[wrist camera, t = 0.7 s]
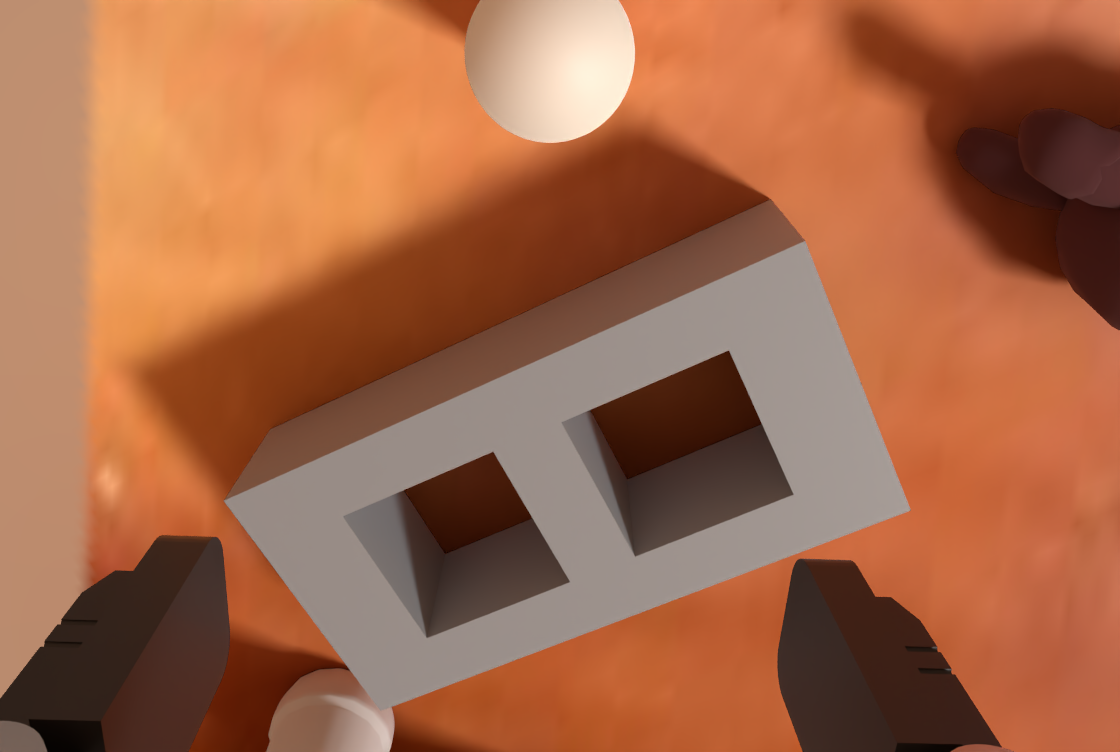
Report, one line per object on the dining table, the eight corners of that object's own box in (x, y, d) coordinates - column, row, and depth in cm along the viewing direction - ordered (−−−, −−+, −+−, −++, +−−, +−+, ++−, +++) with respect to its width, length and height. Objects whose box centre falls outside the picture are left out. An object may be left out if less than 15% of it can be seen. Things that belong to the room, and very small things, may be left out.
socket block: (770, 199, 31) (805, 240, 26) (865, 437, 34) (910, 510, 30) (270, 429, 34) (223, 500, 30) (403, 621, 38) (380, 711, 34)
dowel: (585, -61, 27) (589, -71, 18) (634, 53, 29) (661, 96, 20) (479, -3, 28) (433, 14, 19) (532, 105, 29) (513, 170, 20)
